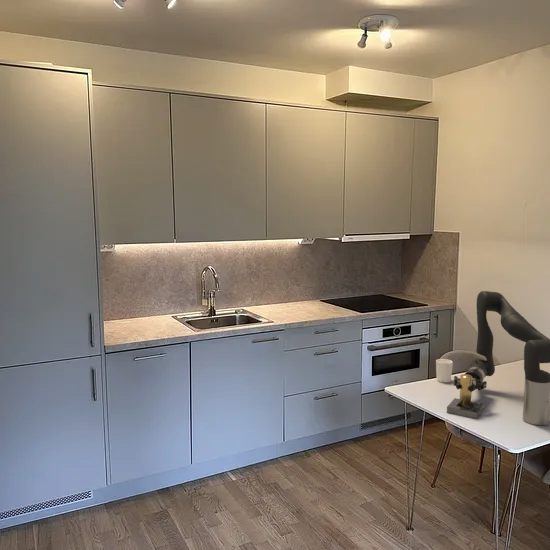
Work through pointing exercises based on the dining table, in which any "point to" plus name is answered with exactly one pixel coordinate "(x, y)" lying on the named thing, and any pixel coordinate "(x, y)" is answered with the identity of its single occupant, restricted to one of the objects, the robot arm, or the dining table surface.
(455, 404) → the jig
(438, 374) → the white cup
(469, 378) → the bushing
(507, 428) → the dining table surface
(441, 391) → the dining table surface
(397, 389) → the dining table surface
